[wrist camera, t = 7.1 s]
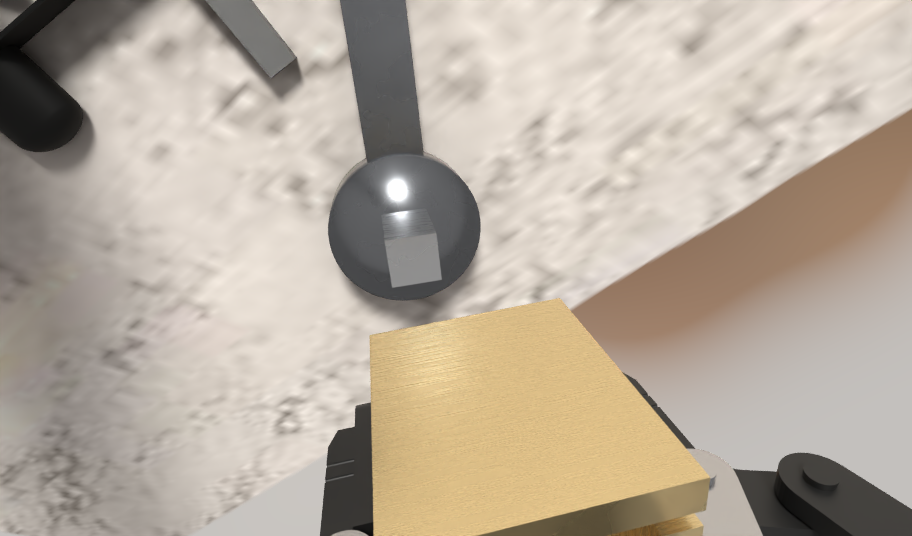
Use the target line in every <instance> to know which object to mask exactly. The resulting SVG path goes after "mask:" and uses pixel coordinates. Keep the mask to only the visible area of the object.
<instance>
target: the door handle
mask: <svg viewBox="0 0 912 536" xmlns="http://www.w3.org/2000/svg"><path fill="white" fill-rule="evenodd" d="M74 1H75V0H36V1H35V2H34V3H33V4H32V5H31V6H30V7H28V8H27V9H26V10H25V11H24V12H23V13H22V14H21V15H19V16H18V17H17V18H16V19H15V20H14V21H13V22H11V23H10V24H9V25H8V26H7V27H6V28H5V29H4V30H2V31H1V32H0V131H1V132H2V133H3V134H4V135H6V136H7V137H8V138H9V139H11V140H12V141H13V142H14V143H15V144H17V145H18V146H19V147H21V148H23V149H25V150H28V151H33V152H45V151H50V150H54V149H57V148H59V147H61V146H63V145H65V144H66V143H68V142H69V141H70V140H71V139H72V138H73V137H74V136H75V135H76V134H77V132H78V131H79V129H80V127H81V124H82V119H83V115H82V110H81V107H80V105H79V104H78V103H77V101H76V100H74V99H73V98H72V97H71V96H70V95H69V94H68V93H67V92H66V91H65V90H64V89H62V88H61V87H60V86H59V85H58V84H57V83H56V82H55V81H54V80H53V79H52V78H50V77H49V76H48V75H47V74H46V73H45V72H44V71H43V70H42V69H41V68H40V67H38V66H37V65H36V64H35V63H34V62H33V61H32V60H31V59H30V58H29V57H27V56H26V55H25V54H24V53H23V52H22V51H21V50H20V48H21V47H22V46H23V45H24V44H25V43H27V42H28V41H29V40H30V39H31V38H32V37H33V36H35V35H36V34H37V33H38V32H39V31H40V30H41V29H43V28H44V27H45V26H46V25H47V24H48V23H50V22H51V21H52V20H53V19H54V18H55V17H56V16H58V15H59V14H60V13H61V12H62V11H63V10H64V9H66V8H67V7H68V6H69V5H70V4H71V3H72V2H74ZM205 1H206V2H207V3H208V4H209V5H210V7H211V8H212V9H213V10H214V11H215V13H216V14H217V15H218V16H219V17H220V18H221V20H222V21H223V22H224V23H225V24H226V26H227V27H228V28H229V29H230V30H231V32H232V33H233V34H234V35H235V36H236V37H237V39H238V40H239V41H240V42H241V43H242V45H243V46H244V47H245V48H246V49H247V50H248V52H249V53H250V54H251V55H252V56H253V58H254V59H255V60H256V61H257V62H258V64H259V65H260V66H261V67H262V68H263V69H264V71H265V72H266V73H267V74H268V75H269V77H270V78H272V77H274V76H275V75H276V74H277V73H279V72H280V71H281V70H282V69H283V68H285V67H286V66H287V65H288V64H290V63H291V62H292V61H293V60H295V59H296V58H297V57H296V56H295V55H294V53H293V52H292V51H291V49H290V48H289V47H288V46H287V44H286V43H285V42H284V41H283V39H282V38H281V37H280V35H279V34H278V33H277V32H276V30H275V29H274V28H273V27H272V25H271V24H270V23H269V21H268V20H267V19H266V18H265V16H264V15H263V14H262V13H261V11H260V10H259V9H258V7H257V6H256V5H255V4H254V2H253V1H252V0H205Z"/></svg>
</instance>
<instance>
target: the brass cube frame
mask: <svg viewBox="0 0 912 536" xmlns="http://www.w3.org/2000/svg"><path fill="white" fill-rule="evenodd" d="M370 376H371V426H372V476H373V526H374V536H702V535H703V528H704V525H703V524H702V523H701V521H700V520H699V519H698V517H697V516H696V515H695V513H697V512H701V511H705V510H706V506H707V499H708V492H709V484H710V476H709V475H708V474H707V473H706V472H705V470H704V469H703V468H702V467H701V466H700V464H699V463H698V462H697V461H696V460H695V458H694V457H693V456H692V455H691V454H690V452H689V451H688V450H687V449H686V448H685V447H684V445H683V444H682V443H681V442H680V441H679V439H678V438H677V437H676V436H675V435H674V433H673V432H672V431H671V430H670V429H669V427H668V426H667V425H666V424H665V423H664V422H663V420H662V419H661V418H660V417H659V416H658V414H657V413H656V412H655V411H654V410H653V408H652V407H651V406H650V405H649V404H648V403H647V401H646V400H645V399H644V398H643V397H642V395H641V394H640V393H639V392H638V391H637V389H636V388H635V387H634V386H633V385H632V383H631V382H630V381H629V380H628V379H627V378H626V376H625V375H624V374H623V373H622V372H621V371H620V369H619V368H618V367H617V366H616V365H615V363H614V362H613V361H612V360H611V359H610V357H609V356H608V355H607V354H606V353H605V352H604V350H603V349H602V348H601V347H600V345H599V344H598V343H597V342H596V341H595V340H594V338H593V337H592V336H591V335H590V334H589V332H588V331H587V330H586V329H585V328H584V326H583V325H582V324H581V323H580V322H579V320H578V319H577V318H576V317H575V316H574V315H573V313H572V312H571V311H570V310H569V309H568V307H567V306H566V305H565V304H564V303H563V301H562V300H561V299H560V298H558V299H553V300H547V301H542V302H537V303H532V304H527V305H522V306H517V307H512V308H507V309H501V310H496V311H491V312H486V313H481V314H476V315H471V316H466V317H461V318H455V319H450V320H445V321H440V322H435V323H430V324H425V325H420V326H415V327H409V328H404V329H399V330H394V331H389V332H384V333H379V334H374V335H370Z"/></svg>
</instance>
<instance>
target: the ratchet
mask: <svg viewBox="0 0 912 536" xmlns="http://www.w3.org/2000/svg"><path fill="white" fill-rule="evenodd" d="M340 2H341V8H342V14H343V20H344V26H345V32H346V38H347V44H348V50H349V56H350V62H351V68H352V74H353V80H354V86H355V92H356V98H357V103H358V109H359V115H360V121H361V127H362V133H363V139H364V145H365V151H366V157H367V158H365V159H364V160H362V161H361V162H359V163H358V164H356V165H355V166H354V167H353V168H352V169H351V170H350V171H349V172H348V173H347V174H346V176H345V177H344V178H343V180H342V181H341V183H340V184H339V186H338V188H337V191H336V193H335V196H334V199H333V202H332V207H331V211H330V217H329V224H328V235H329V242H330V246H331V250H332V253H333V255H334V258H335V260H336V262H337V264H338V265H339V267H340V268H341V270H342V271H343V272H344V274H345V275H346V276H347V277H348V278H349V279H350V280H351V281H352V282H353V283H354V284H356V285H357V286H359V287H360V288H362V289H363V290H365V291H367V292H369V293H371V294H373V295H376V296H379V297H382V298H386V299H392V300H414V299H420V298H424V297H427V296H430V295H433V294H435V293H437V292H439V291H442V290H443V289H445V288H446V287H448V286H449V285H451V284H452V283H453V282H454V281H456V280H457V279H458V278H459V277H460V276H461V275H462V274H463V273H464V271H465V270H466V269H467V267H468V266H469V264H470V263H471V261H472V259H473V257H474V255H475V252H476V250H477V247H478V243H479V238H480V215H479V210H478V207H477V203H476V201H475V199H474V197H473V194H472V193H471V191H470V190H469V188H468V186H467V185H466V184H465V183H464V182H463V180H462V179H461V178H460V177H459V176H458V174H457V173H456V172H455V171H454V170H453V169H452V168H451V167H450V166H449V165H448V164H446V163H445V162H443V161H442V160H441V159H439V158H437V157H435V156H433V155H431V154H429V153H426V152H423V145H422V137H421V129H420V120H419V112H418V103H417V95H416V87H415V78H414V70H413V61H412V53H411V44H410V36H409V28H408V19H407V11H406V2H405V0H340Z"/></svg>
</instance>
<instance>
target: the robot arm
mask: <svg viewBox="0 0 912 536" xmlns="http://www.w3.org/2000/svg"><path fill="white" fill-rule="evenodd" d="M622 373H623V372H622ZM623 374H624V373H623ZM624 375H625V376H626V378H627V379H628V380H629V381H630V382H631V383H632V385H633V386H634V387H635V388H636V389H637V391H638V392H639V393H640V394H641V395H642V397H643V398H644V399H645V400H646V401H647V403H648V404H649V405H650V406H651V407H652V408H653V410H654V411H655V412H656V413H657V414H658V416H659V417H660V418H661V419H662V420H663V422H664V423H665V424H666V425H667V426H668V427H669V429H670V430H671V431H672V432H673V433H674V435H675V436H676V437H677V438H678V439H679V441H680V442H681V443H682V444H683V445H684V447H685V448H686V449H687V450H688V451H689V452H690V454H691V455H692V456H693V457H694V458H695V460H696V461H697V462H698V463H699V464H700V466H701V467H702V468H703V469H704V470H705V472H706V473H707V474H708V475H709V476H710V484H709V492H708V499H707V506H706V510H705V511H701V512H697V513H695V515H696V516H697V517H698V519H699V520H700V521H701V523H702V524H703V525H704V528H703V535H702V536H912V509H910V508H909V507H907V506H905V505H904V504H902V503H901V502H899V501H897V500H896V499H894V498H893V497H891V496H890V495H888V494H886V493H885V492H883V491H882V490H880V489H878V488H877V487H875V486H874V485H872V484H871V483H869V482H867V481H866V480H864V479H863V478H861V477H859V476H858V475H856V474H855V473H853V472H851V471H850V470H848V469H847V468H845V467H843V466H841V465H840V464H838V463H836V462H834V461H832V460H830V459H828V458H825V457H822V456H819V455H815V454H810V453H794V454H790V455H787V456H785V457H784V458H782V460H781V461H780V463H779V465H778V470H777V472H771V471H750V470H737V469H732V468H731V466H730V465H729V464H728V463H727V462H725V461H724V460H723V459H721V458H720V457H718V456H716V455H714V454H712V453H710V452H707V451H703V450H699V449H695V448H694V447H693V446H692V444H691V443H690V442H689V441H688V440H687V439H686V437H685V436H684V435H683V434H682V433H681V432H680V430H679V429H678V428H677V427H676V426H675V425H674V423H673V422H672V421H671V420H670V419H669V418H668V417H667V415H666V414H665V413H664V412H663V411H662V410H661V408H660V407H657V404H656V403H655V401H653V399H652V398H651V397H650V396H648V394H647V392H646V391H645V390H644V389H643V388H642V386H641V385H640V384H639V383H638V382H637V381H636V380H635V379H633V378H631V377H630V376H628V375H626V374H624ZM325 480H326V483H325V488H324V498H323V510H322V520H321V531H320V536H374V526H373V476H372V426H371V403H366V404H362V405H357V406H356V408H355V427H352V428H347V429H342V430H338V431H337V433H336V435H335V437H334V438H333V440H332V442H331V443H330V445H329V447H328V455H327V468H326V477H325Z"/></svg>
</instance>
